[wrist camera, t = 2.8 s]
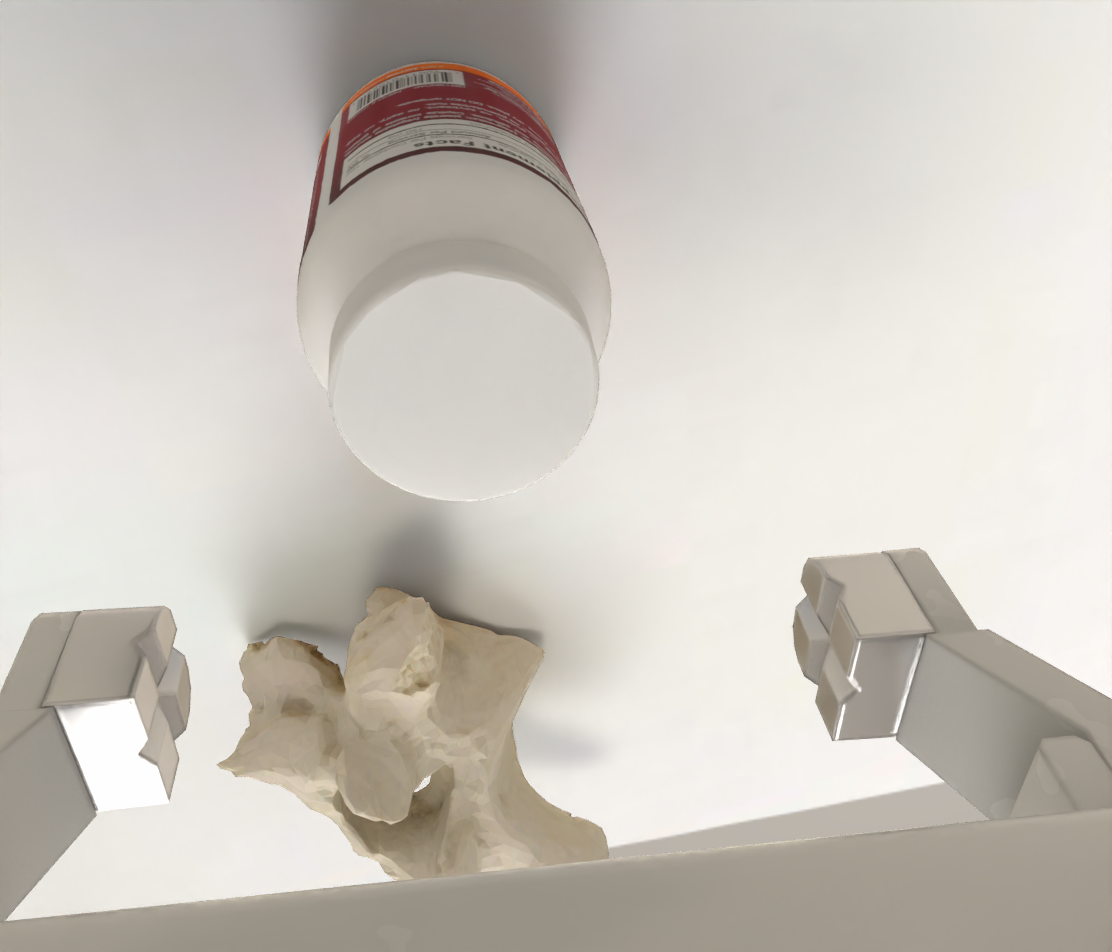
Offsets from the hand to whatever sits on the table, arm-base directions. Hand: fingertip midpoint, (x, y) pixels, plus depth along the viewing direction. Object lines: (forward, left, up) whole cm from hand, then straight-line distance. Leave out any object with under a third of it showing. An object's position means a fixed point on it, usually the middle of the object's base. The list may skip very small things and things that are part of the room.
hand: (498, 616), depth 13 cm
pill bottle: (0, 0, -17) cm, 17 cm away
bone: (+13, -11, -17) cm, 24 cm away
